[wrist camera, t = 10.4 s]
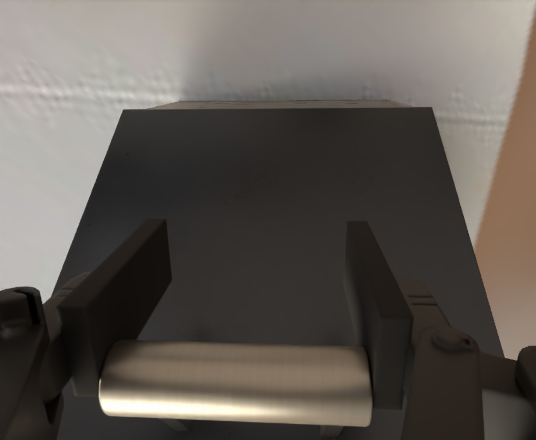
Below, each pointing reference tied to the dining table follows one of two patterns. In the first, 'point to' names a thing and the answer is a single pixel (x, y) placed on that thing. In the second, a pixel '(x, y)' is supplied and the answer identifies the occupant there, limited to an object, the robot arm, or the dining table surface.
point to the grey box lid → (267, 268)
